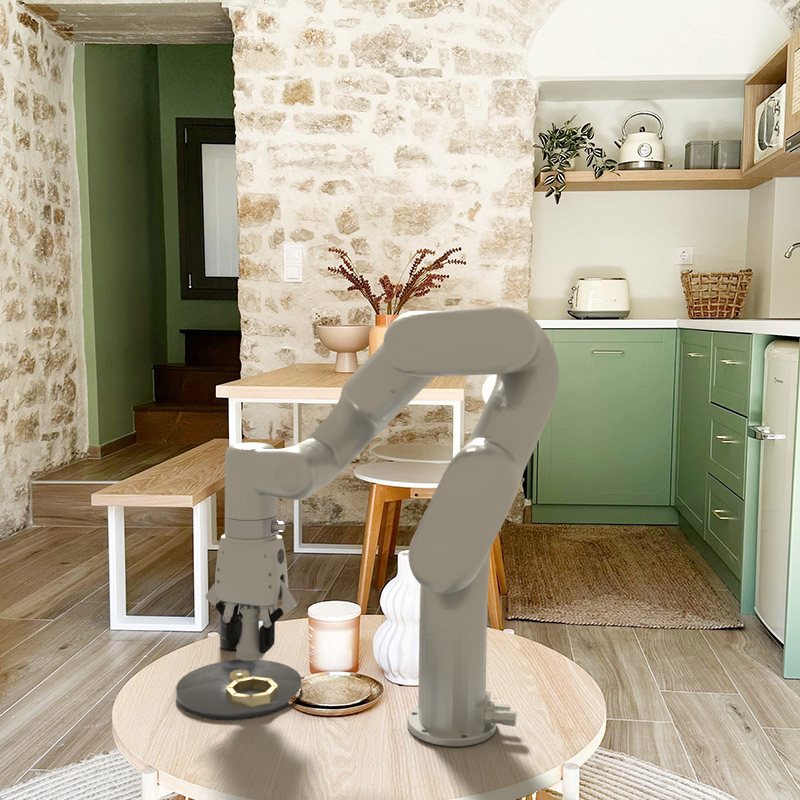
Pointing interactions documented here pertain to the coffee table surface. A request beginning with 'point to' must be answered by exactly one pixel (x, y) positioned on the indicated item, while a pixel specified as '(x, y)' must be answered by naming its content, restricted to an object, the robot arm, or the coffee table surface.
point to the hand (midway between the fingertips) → (250, 647)
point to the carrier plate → (238, 689)
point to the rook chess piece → (249, 634)
